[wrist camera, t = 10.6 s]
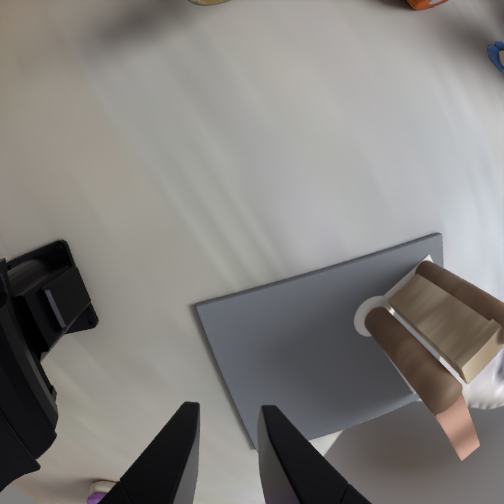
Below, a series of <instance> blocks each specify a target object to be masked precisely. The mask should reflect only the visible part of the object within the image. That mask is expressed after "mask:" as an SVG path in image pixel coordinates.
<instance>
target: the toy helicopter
mask: <svg viewBox="0 0 504 504" xmlns="http://www.w3.org/2000/svg"><path fill="white" fill-rule="evenodd" d="M188 1H189V2H191V3H193V4H196V5H201V6H207V5H216V4H221V3H224V2H228V1H230V0H188ZM407 1H408V3H409V4H410V6H411V7H412V8H414V9H415V10H425V9H428V8H432V7H434V6H437V5H440V4H442V3H444V2H446V1H448V0H407Z"/></svg>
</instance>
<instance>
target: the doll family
mask: <svg viewBox="0 0 504 504" xmlns="http://www.w3.org/2000/svg"><path fill="white" fill-rule="evenodd" d="M487 52H488V55H489V57H490V59H491V60H492V62H493V63H494V64H495V65H496V67H497V68H498V69H499V70H500V71H502V72H504V43H503V42H500V41H498V42H496V47H495V46H492V45H490V46H488V48H487Z"/></svg>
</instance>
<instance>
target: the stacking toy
mask: <svg viewBox="0 0 504 504" xmlns="http://www.w3.org/2000/svg"><path fill="white" fill-rule="evenodd" d="M115 484H116V483H114V482H109V481H99V482H95V483H93V484H92V485H91V486H90V488H89V493H90V496H89V497H88V499H87V504H97V503H98V502H99V501H100V500H101V499H102V498H103V497H104V496H105V495H106V494H107V493H108V492H109V491H110V489H111V488H112V487H113V486H114V485H115Z"/></svg>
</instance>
